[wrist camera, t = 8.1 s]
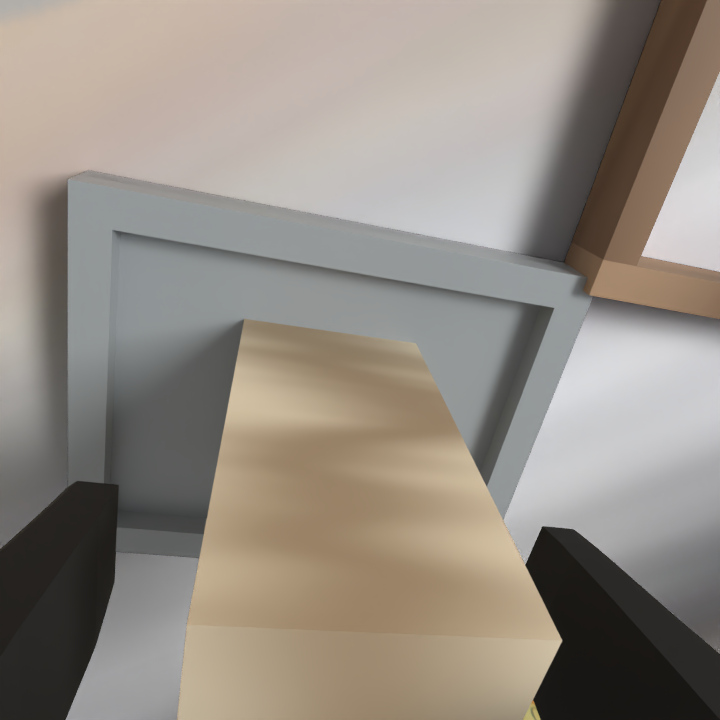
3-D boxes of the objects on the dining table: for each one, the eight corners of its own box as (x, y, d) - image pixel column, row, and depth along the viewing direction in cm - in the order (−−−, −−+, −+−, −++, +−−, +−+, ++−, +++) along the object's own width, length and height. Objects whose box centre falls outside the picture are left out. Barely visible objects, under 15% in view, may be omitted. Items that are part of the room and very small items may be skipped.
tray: (575, 264, 14) (599, 280, 13) (467, 547, 17) (479, 578, 16) (88, 170, 12) (67, 179, 10) (83, 515, 15) (67, 547, 14)
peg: (415, 343, 13) (562, 641, 6) (380, 479, 15) (463, 838, 8) (244, 318, 13) (186, 624, 5) (226, 465, 14) (163, 847, 7)
